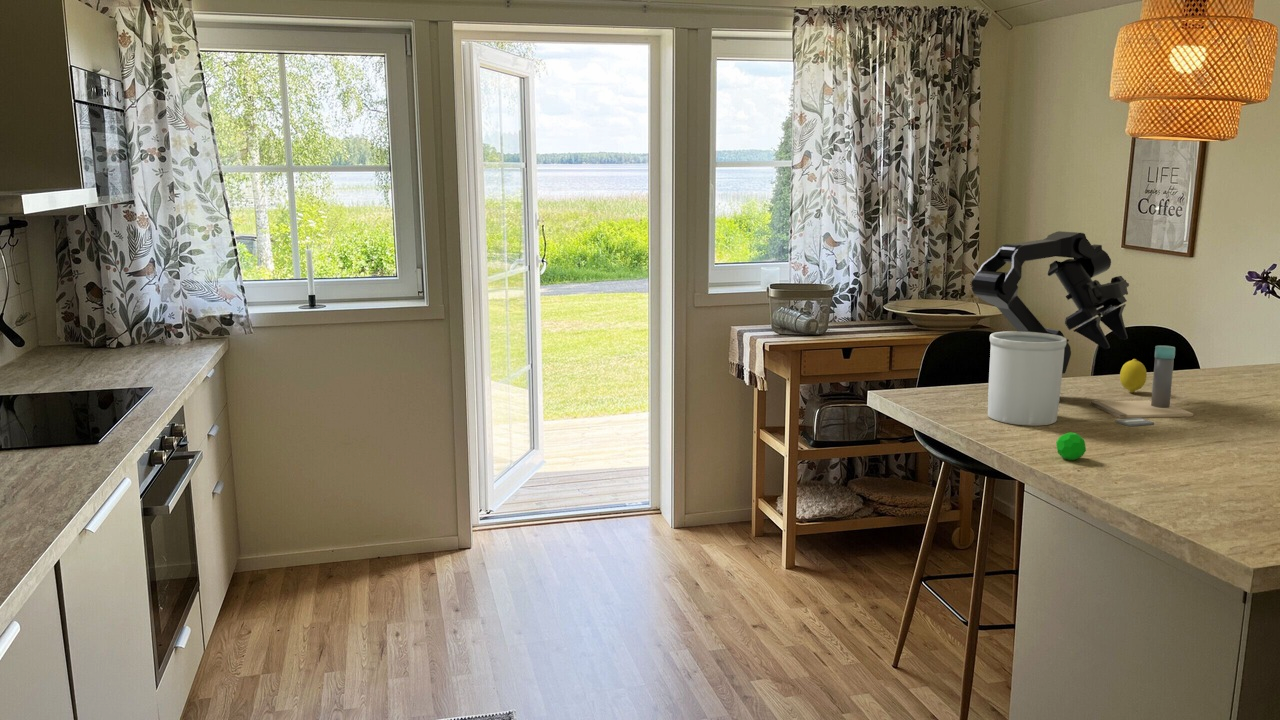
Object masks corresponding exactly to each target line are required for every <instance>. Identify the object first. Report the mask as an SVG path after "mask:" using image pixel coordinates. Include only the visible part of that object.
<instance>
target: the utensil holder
mask: <svg viewBox="0 0 1280 720" xmlns="http://www.w3.org/2000/svg"><path fill="white" fill-rule="evenodd" d="M1067 339H1068V338H1066V337H1065V336H1064V337H1062V336H1058V335H1053V334H1046V333H1037V332H1023V331H1017V330H1016V331H1015V330H1007V331H996V332H992V333H991V334H990V335H989V342H990V349H989V350H990V351H989V352H990V353H989V354H990V355H989V356H990V357H989V370H988V371H989V372H988V390H987V393H988V394H987V416H988V417H989V418H990V419H992V420H995V421H998V422H1000V423H1004V424H1005V423H1006V424H1010V425H1018V426H1032V427H1033V426H1047V425H1052V424H1054V423H1056V422H1057V420H1058V413H1059V407H1060V406H1059V405H1060V400H1059V399H1060V398H1061V388H1062V380H1063V379H1062V378H1063V374H1062V370H1063V361H1064V348H1065V346H1066V343H1067Z"/></svg>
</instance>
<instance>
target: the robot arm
mask: <svg viewBox="0 0 1280 720" xmlns="http://www.w3.org/2000/svg"><path fill="white" fill-rule="evenodd" d="M1054 257H1058V258H1068V259H1064V260H1062V261H1060V260H1059V261H1058V260H1054V261H1053V262H1051V263H1050V264H1049V269H1048V272H1047V276H1049V277H1051V276H1053V275H1055V276H1056V278H1057V279H1058V280H1059V282H1060V284H1062V286H1063V288H1064V290H1065V291H1066V292H1067V295H1065V298H1066V300H1067V301H1069V300H1071V301H1072V302H1073V304H1074V305H1075V306H1076V308H1077V310H1076V311H1075V312H1074V313H1071V314H1069V315H1068V316H1066V317H1065V320H1064V324H1065V326H1066V328H1067V329H1068V330H1069V331H1071V330H1073V332H1074V333H1077V334H1079V335H1080V336H1081V335H1082V336H1083V337H1085V338H1087V339H1088V340H1090V341H1091V342H1093V343H1094V344H1096V345H1098V346H1099V347H1101V348H1102V349H1104V350H1108V349H1110V347H1111V346H1110V343H1109V340H1108V339H1107V337H1106V335H1105V333H1104V331H1103V329H1102V326H1101V325H1100V323H1101V322H1102V324H1103V325H1105V326H1106V328H1108V329H1109V330H1111V332H1113V333H1114V334H1115V335H1116V336H1117V337H1118V338H1119V339H1121V340H1122V341H1124V340H1127V339H1128V338H1129V337H1128V334H1127V330H1126V325H1125V323H1124V318H1123V311H1124V309H1125V307H1126V305H1127V304H1126V302H1128V300H1127V299H1126V297H1125V295H1126V296H1127V295H1129V291H1128V288H1129V286H1130V284H1129V282H1127V279H1125V278H1124V277H1123V276H1122V275H1118V276H1114V277H1112V278H1111V280H1110V282H1107V283H1104V284H1101V282H1100V281H1099V280H1097V279H1095V280H1092V278H1095V277H1096V276H1099V275H1102V273H1105V272H1107V271H1108V270H1109V269H1110V268H1111V265H1112V259H1111V258H1110V255H1109V254H1108V253H1107V252H1106V251H1105V250H1104V249H1103V245H1102V244H1095V243H1094V244H1092V243H1091V242H1090V241H1089V240H1088V239H1087V236H1086V234H1085V233H1084V232H1074V231H1062V230H1061V231H1059V230H1058V231H1055V232H1052V233H1051V234H1048V235H1047V237H1046V238H1043V239H1038V240H1030V241H1024V242H1017V243H1005V244H1002V245H1001V246H1000V247H999V248H998V250H997V251H996V253H995V254H994V255H992V256H991V257H990V258H988V259H987V260H986V261H984V262H983V263H982V264H980V265H981V266H980V267H979V268H978V270H977V272H976V273H975V274H974V276H973V278H972V280H971V291H972V292H973V294H974V295H975V296H976V297H977V298H979V299H980V300H982V301H983V302H986V303H987V304H990V305H992V306H994V307H996V308H997V309H998V311H999V312H1000V313H1001V314H1002V315H1003V316H1004V318H1006V319H1007V321H1008V322H1009V323H1010V324H1011V325H1012V326H1013V327H1014V328H1015V330H1016V331H1023V332H1037V333H1046V334H1053V335H1058V336H1062V337H1065V336H1064V333H1063V332H1062V331H1061V330H1059V329H1052V328H1047V327H1045V326H1044V325H1043V324H1042V323H1041V321H1040V320H1039V319H1038V318H1037V317H1036V315H1034V313H1033V312H1032V311H1031V310H1030V308H1028V306H1027V305H1026V304H1025V302H1024V301H1023V300H1022V299H1021V298H1020V297H1019V296H1018V291H1019V286H1018V284H1019V282H1020V280H1021V278H1022V272H1023V271H1022V269H1023V268H1022V267H1023V265H1024V264H1025V262H1028V261H1036V260H1042V259H1047V258H1054ZM1007 263H1010V264H1011V268H1010V269H1009V271H1008V272H1003V271H999V270H1000V269H1001V268H1002V267H1003V266H1005V265H1006V264H1007ZM1096 316H1097V317H1096ZM1074 328H1075V329H1074ZM1066 339H1067V343H1066V346H1065V348H1064V361H1063V370H1062V375H1063V374H1065V373H1066V372H1067V368H1068V365H1069V362H1070V358H1071V356H1072V349H1071V345H1070V344H1069V341H1070V340H1069V339H1068V338H1066ZM1061 400H1062V398H1061V397H1060V399H1059V401H1061Z"/></svg>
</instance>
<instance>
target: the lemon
mask: <svg viewBox="0 0 1280 720" xmlns="http://www.w3.org/2000/svg"><path fill="white" fill-rule="evenodd" d="M1147 377H1148V376H1147V369H1146V367H1145V365H1144V363H1142V362H1141V361H1139V360H1138V359H1136V358H1133V359H1132V360H1128V361H1126V362H1125V363H1124V364H1123V365H1122V367H1121V369H1120V372H1119V381H1120V384H1121V386H1123V388H1125V389H1126V390H1128V393H1132V394H1133V393H1134V392H1135V391H1138V390H1140V389H1142V388H1143V387H1144V386H1145V383H1146V382H1147Z"/></svg>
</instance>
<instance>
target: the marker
mask: <svg viewBox="0 0 1280 720" xmlns="http://www.w3.org/2000/svg"><path fill="white" fill-rule="evenodd" d="M1154 348H1155V349H1154V365H1153V366H1154V367H1153V376H1152V389H1151V399H1150V400H1151V406H1153V407H1159V408H1168V407H1170V404H1171V394H1172V387H1173V386H1172V385H1173V383H1172V382H1173V372H1174V362H1175V361H1174V359H1175V356H1176V347H1175V346H1171V345H1155V347H1154Z"/></svg>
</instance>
